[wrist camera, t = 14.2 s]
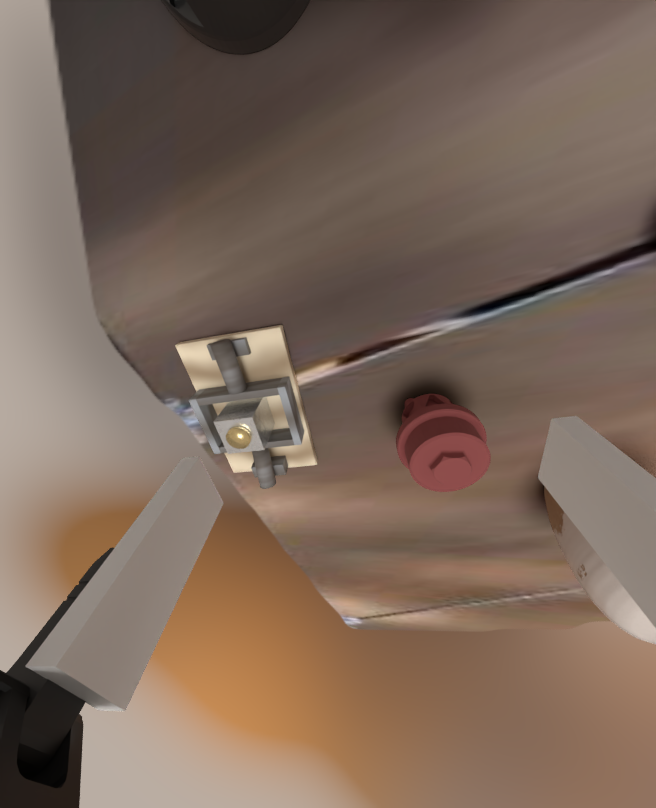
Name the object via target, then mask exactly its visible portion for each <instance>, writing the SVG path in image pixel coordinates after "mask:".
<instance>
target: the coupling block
mask: <svg viewBox="0 0 656 808" xmlns="http://www.w3.org/2000/svg"><path fill="white" fill-rule="evenodd" d="M214 425H215V427H216V429H217V431H218V433H219V436H220V438H221V440H222V442H223V444H224V447H225V449H226V451H227V453H228V454H232V453H241V452H250V451H260V450H265V447H266V445H267V442H268V440H269V437H270V435H271V432H272V430H273V427H274V425H275V422H274V419H273V416H272V413H271V410H270V407H269V404H268V401H267V398H266V397H260V398H253V399H245V400H238V401H231V402H228V403H227V404H226V406H225V407H224V409H223V410H222V411H221V413H220V414H219V415H218V417H217V418H216V419H215V421H214Z"/></svg>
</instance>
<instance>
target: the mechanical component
mask: <svg viewBox="0 0 656 808" xmlns="http://www.w3.org/2000/svg"><path fill="white" fill-rule="evenodd" d="M404 404H405V409H404V411H403V413H402V423H403V424H402V425H401V427H400V428H399V431H398V433H397V437H396V447H397V451H398V455H399V458H400V460H401V462H402V463H403V464H404V465H405V466H406V467H407V468H408V469H409V470H410V473H411V476H412V477H413V479H414V480H415V481H416V482H417V483H418V484H419V485H421V486H422V487H424V488H426V489H429V490H433V491H439V492H449V491H456V490H460V489H463V488H466V487H468V486H470V485H472V484H473V483H475V482H476V481H478V480H479V479H480V478H481V477H482V476H483V475H484V474H485V472H486V471H487V469H488V467H489V464H490V457H491V456H490V451H489V449H488V447H487V445H486V431H485V429H484V426H483V425H482V423H481V422H480V420H479V419H478V418H477V416H476V415H475V414H474V413H473V412H471V411H470V410H468V409H467V408H464V407H462V406H459V405H455V404H452V402H451V401H450V400H449V399H448V398H446V397H444V396H442V395H439V394H425V395H421V396H419V397H416V398H415V399H414V398H409V399H407V400H406V401H405V403H404Z"/></svg>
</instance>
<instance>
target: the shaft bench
mask: <svg viewBox="0 0 656 808" xmlns="http://www.w3.org/2000/svg"><path fill="white" fill-rule="evenodd" d="M175 346H176V348H177V350H178V353H179V355H180V357H181V359H182V361H183V363H184V366H185V368H186V370H187V372H188V374H189V376H190V379H191V381H192V383H193V385H194V387H195V390H196V393H195V394H194V395H193V396H192V397H191V398H190V399H189V402H190V404H191V406H192V408H193V410H194V413H195V415H196V417H197V419H198V421H199V423H200V425H201V427H202V429H203V431H204V433H205V435H206V437H207V439H208V441H209V444H210V446H211V448H212V450H213V452H214V454H218V453H225V455H226V457H227V459H228V461H229V463H230V466H231V468H232V470H233V472H234V473H236V472H247V471H253V474H254V476H255V477H258V479H259V483H260V487H261V488H263V489H266V488H270V487H273V486H274V485H275V484H276V479H275V475H286V472H287V469H288V467H299V466H309V465H317V456H316V452H315V449H314V445H313V441H312V437H311V433H310V429H309V426H308V422H307V418H306V414H305V410H304V406H303V403H302V399H301V395H300V391H299V387H298V383H297V380H296V376H295V372H294V368H293V364H292V361H291V357H290V353H289V349H288V345H287V341H286V338H285V334H284V330H283V326H282V325H277V326H271V327H265V328H260V329H254V330H248V331H242V332H237V333H231V334H225V335H219V336H213V337H208V338H202V339H196V340H190V341H184V342H180V343H178V344H176V345H175ZM260 397H266V398H267V401H268V404H269V407H270V410H271V413H272V416H273V419H274V422H275V425H274V427H273V430H272V432H271V435H270V437H269V440H268V442H267V445H266V447H265V450H260V451H250V452H241V453H232V454H228V453H227V451H226V449H225V447H224V444H223V442H222V440H221V438H220V436H219V433H218V431H217V429H216V427H215V425H214V421H215V419H216V418H217V417H218V415H219V414H220V413H221V411H222V410H223V409H224V407H225V406H226V404H227V403H228V402H231V401H238V400H245V399H253V398H260Z"/></svg>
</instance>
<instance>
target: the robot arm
mask: <svg viewBox="0 0 656 808" xmlns="http://www.w3.org/2000/svg"><path fill="white" fill-rule="evenodd" d="M161 1H162V2H163V3H164V5H165V6H166V7H167V9H168V10H169V11H170V12H171V14H172V15H173V16H174V17H175V18H176V20H177V21H178V22H179V23H180V24H181V25H182V26H183V27H184V28H185V29H186V30H187V31H188V32H189V33H191V34H192V35H193V36H194V37H196V38H197V39H198V40H200V41H201V42H203V43H205V44H206V45H208V46H210V47H212V48H214V49H217V50H220V51H223V52H227V53H233V54H247V53H253V52H257V51H260V50H262V49H265V48H267V47H269V46H271V45H272V44H274V43H275V42H277V41H278V40H279V39H280V38H282V37H283V36H284V35H285V34H286V33H287V32H288V31H289V30H290V29H291V28H292V27H293V25H294V24H295V23H296V21H297V20H298V19H299V17H300V16H301V14H302V13H303V11H304V9H305V8H306V6H307V4H308V2H309V0H161ZM538 479H539V480H540V481H541V483H542V484H543V485H544V486H545V488H546V489H547V490H548V491H549V493H550V494H551V495H552V497H553V498H554V499H555V500H556V502H557V503H558V504H559V506H560V507H561V508H562V509H563V511H564V512H565V513H566V514H567V516H568V517H569V518H570V520H571V521H572V522H573V523H574V525H575V526H576V527H577V529H578V530H579V531H580V532H581V534H582V535H583V536H584V537H585V539H586V540H587V541H588V543H589V544H590V545H591V546H592V548H593V549H594V550H595V551H596V553H597V554H598V555H599V557H600V558H601V559H602V560H603V562H604V563H605V564H606V566H607V567H608V568H609V569H610V571H611V572H612V573H613V574H614V576H615V577H616V578H617V580H618V581H619V582H620V583H621V585H622V586H623V587H624V589H625V590H626V591H627V592H628V594H629V595H630V596H631V597H632V599H633V600H634V601H635V603H636V604H637V605H638V606H639V608H640V609H641V610H642V611H643V613H644V614H645V615H646V617H647V618H648V619H649V620H650V622H651V623H652V624H653V626H654V627H655V628H656V478H655V477H654V476H652V475H651V474H650V473H649V472H647V471H646V470H645V469H643V468H642V467H641V466H640V465H638V464H637V463H636V462H635V461H633V460H632V459H631V458H629V457H628V456H627V455H626V454H624V453H623V452H622V451H621V450H619V449H618V448H617V447H615V446H614V445H613V444H612V443H610V442H609V441H608V440H607V439H605V438H604V437H603V436H601V435H600V434H599V433H598V432H596V431H595V430H594V429H593V428H591V427H590V426H589V425H587V424H586V423H585V422H584V421H582V420H581V419H580V418H579V417H577V416H571V417H562V418H553V419H552V420H551V424H550V428H549V432H548V436H547V441H546V445H545V449H544V453H543V457H542V462H541V466H540V470H539V474H538ZM222 505H223V501H222V499H221V497H220V495H219V493H218V491H217V489H216V487H215V486H214V483H213V482H212V480H211V478H210V476H209V474H208V472H207V470H206V468H205V466H204V464H203V462H202V460H201V458H200V457H189V458H183V459H182V460H181V461H180V462H179V464H178V465H177V466H176V468H175V469H174V470H173V471H172V473H171V474H170V475H169V477H168V478H167V480H166V481H165V482H164V483H163V485H162V486H161V487H160V489H159V490H158V491H157V493H156V494H155V495H154V497H153V498H152V499H151V501H150V502H149V503H148V505H147V506H146V507H145V508H144V510H143V511H142V512H141V514H140V515H139V517H138V518H137V519H136V520H135V522H134V523H133V524H132V526H131V527H130V528H129V530H128V531H127V532H126V534H125V535H124V536H123V538H122V539H121V540H120V542H119V543H118V544H117V546H116V547H115V548H110V549H109V550H108V551H107V552H106V553H105V554H104V555H102V556H101V557H100V558H99V559H98V560H97V561H96V562H95V563H94V564H93V565H92V566H91V567H90V568H89V570H88V571H87V572H86V573H85V575H84V576H83V577H82V579H81V580H80V581H79V585H76V586H75V587H74V589H73V590H72V591H71V593H70V594H69V595H68V596H67V600H66V601H63V603H62V604H61V605H60V607H59V608H58V609H57V611H56V612H55V613H54V614H53V616H52V617H51V618H50V619H49V621H48V622H47V623H46V625H45V626H44V627H43V628H42V630H41V631H40V632H39V633H38V635H37V636H36V637H35V639H34V640H33V641H32V642H31V644H30V645H29V646H28V647H27V649H26V650H25V651H24V652H23V654H22V655H21V656H20V658H19V659H18V660H17V661H16V662H15V664H14V665H13V666H12V667H11V668H10V670H9V671H8V672H7V673H5V672H3V671H1V670H0V808H79V799H80V779H81V759H82V738H83V721H82V716H81V715H80V714H79V713H80V711H81V709H82V707H83V706H84V704H85V702H86V703H88V704H89V705H91V706H93V707H94V708H96V709H98V710H108V711H125V710H126V708H127V706H128V704H129V702H130V700H131V697H132V695H133V693H134V691H135V689H136V686H137V685H138V683H139V680H140V678H141V676H142V674H143V672H144V670H145V668H146V666H147V664H148V661H149V659H150V657H151V655H152V653H153V651H154V649H155V647H156V644H157V643H158V640H159V638H160V636H161V634H162V632H163V630H164V628H165V626H166V623H167V621H168V619H169V617H170V615H171V613H172V611H173V609H174V607H175V604H176V602H177V600H178V598H179V596H180V594H181V592H182V590H183V588H184V585H185V583H186V581H187V579H188V577H189V575H190V573H191V571H192V569H193V566H194V564H195V562H196V560H197V558H198V556H199V554H200V552H201V550H202V547H203V545H204V543H205V541H206V539H207V537H208V535H209V532H210V531H211V529H212V526H213V524H214V522H215V520H216V518H217V516H218V514H219V512H220V509H221V507H222Z"/></svg>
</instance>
